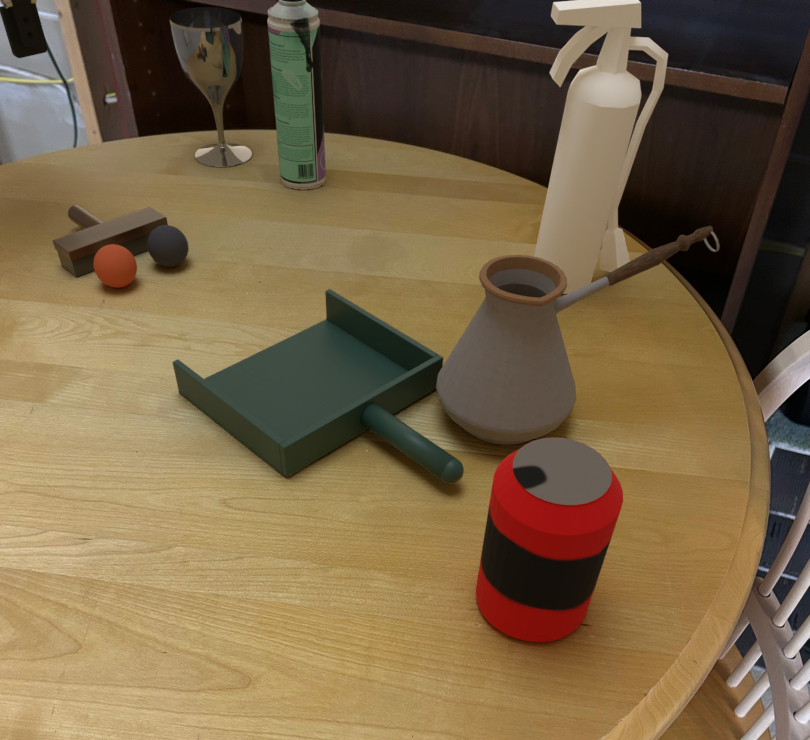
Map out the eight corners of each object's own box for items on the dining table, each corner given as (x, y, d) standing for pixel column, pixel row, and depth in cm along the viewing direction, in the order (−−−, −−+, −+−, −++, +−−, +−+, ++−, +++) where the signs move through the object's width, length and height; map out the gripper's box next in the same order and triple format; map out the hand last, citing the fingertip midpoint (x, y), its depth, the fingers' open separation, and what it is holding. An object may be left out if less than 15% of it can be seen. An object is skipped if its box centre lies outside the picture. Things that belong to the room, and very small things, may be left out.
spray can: (335, 180, 97) (329, -16, 82) (302, 194, 94) (289, -6, 80) (304, 166, 100) (292, -27, 85) (271, 179, 97) (253, -17, 82)
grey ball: (144, 263, 83) (135, 226, 80) (177, 250, 85) (170, 213, 82) (165, 278, 81) (158, 241, 78) (199, 265, 83) (192, 228, 80)
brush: (31, 244, 85) (22, 218, 83) (125, 212, 90) (119, 187, 88) (76, 278, 80) (68, 252, 78) (171, 242, 86) (166, 216, 84)
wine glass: (178, 160, 100) (154, 21, 88) (213, 137, 105) (194, 3, 93) (234, 173, 98) (217, 32, 87) (267, 149, 103) (254, 13, 92)
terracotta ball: (91, 283, 80) (80, 245, 77) (126, 270, 82) (117, 232, 79) (112, 300, 78) (102, 261, 75) (148, 285, 80) (140, 247, 77)
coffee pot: (459, 471, 63) (479, 300, 52) (416, 384, 70) (426, 219, 59) (698, 428, 68) (763, 263, 57) (635, 351, 75) (681, 191, 64)
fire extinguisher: (636, 295, 82) (715, 10, 63) (519, 297, 81) (564, 8, 62) (619, 262, 86) (687, -14, 68) (508, 263, 85) (546, -16, 67)
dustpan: (178, 392, 69) (171, 361, 66) (331, 318, 77) (329, 288, 75) (376, 550, 57) (376, 519, 55) (529, 443, 66) (535, 412, 63)
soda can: (458, 572, 56) (475, 440, 47) (555, 547, 58) (589, 417, 49) (502, 658, 51) (530, 530, 42) (606, 629, 53) (654, 500, 44)
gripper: (-156, -211, 66) (-70, 26, 79) (-69, -185, 58) (11, 74, 71) (-65, -216, 70) (3, 12, 83) (29, -192, 62) (88, 56, 74)
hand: (7, 41), depth 77 cm, fingers open, 9 cm apart
